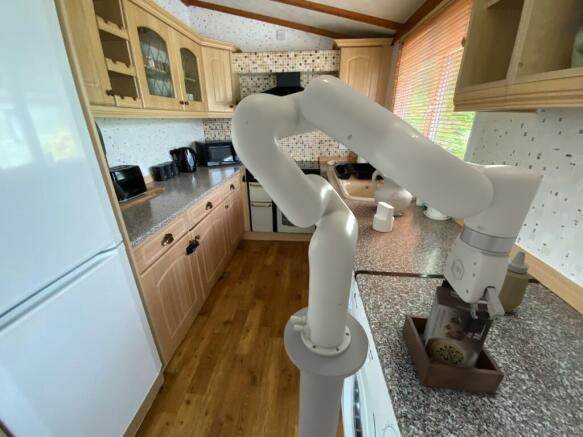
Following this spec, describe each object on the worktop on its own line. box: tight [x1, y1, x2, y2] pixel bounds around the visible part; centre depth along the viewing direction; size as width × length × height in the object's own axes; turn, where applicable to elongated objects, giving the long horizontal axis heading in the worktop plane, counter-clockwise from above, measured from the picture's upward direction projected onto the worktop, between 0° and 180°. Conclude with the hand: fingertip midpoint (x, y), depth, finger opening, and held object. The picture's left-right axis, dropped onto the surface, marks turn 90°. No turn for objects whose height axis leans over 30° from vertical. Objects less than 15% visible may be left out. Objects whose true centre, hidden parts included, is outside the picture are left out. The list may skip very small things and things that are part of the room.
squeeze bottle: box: [498, 249, 530, 313], centre depth 67 cm, size 8×8×18 cm
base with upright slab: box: [372, 202, 395, 233], centre depth 116 cm, size 9×9×12 cm
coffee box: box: [422, 285, 494, 368], centre depth 51 cm, size 9×6×16 cm
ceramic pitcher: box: [371, 168, 413, 217], centre depth 134 cm, size 22×20×25 cm
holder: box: [401, 314, 505, 395], centre depth 53 cm, size 14×14×6 cm
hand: (457, 312), depth 49 cm, fingers open, 9 cm apart
